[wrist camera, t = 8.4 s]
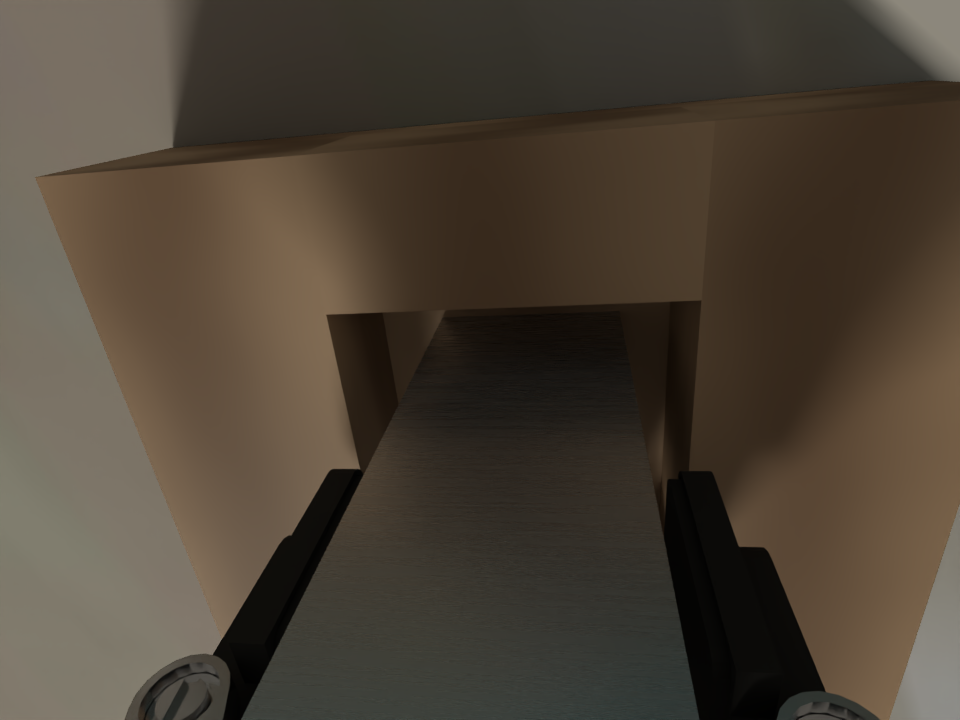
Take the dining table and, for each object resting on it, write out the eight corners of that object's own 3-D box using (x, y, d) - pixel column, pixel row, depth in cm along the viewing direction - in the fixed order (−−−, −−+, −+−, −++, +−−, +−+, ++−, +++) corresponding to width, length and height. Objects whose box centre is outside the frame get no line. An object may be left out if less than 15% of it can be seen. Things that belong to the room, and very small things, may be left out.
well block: (930, 80, 11) (1095, 89, 8) (816, 606, 17) (880, 745, 14) (171, 147, 14) (35, 177, 10) (303, 586, 20) (246, 699, 16)
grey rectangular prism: (619, 311, 13) (720, 826, 4) (616, 545, 16) (672, 1134, 7) (442, 317, 14) (212, 775, 5) (470, 541, 17) (359, 1079, 8)
